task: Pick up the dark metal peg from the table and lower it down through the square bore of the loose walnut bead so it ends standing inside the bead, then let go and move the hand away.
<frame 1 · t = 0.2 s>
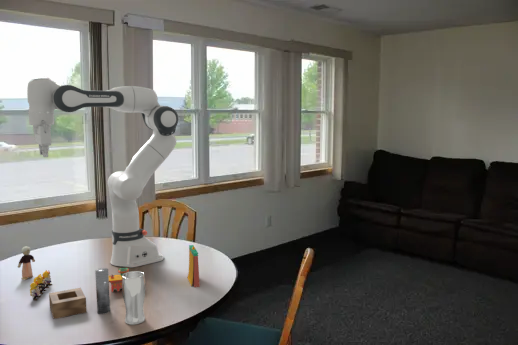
hand: (44, 156, 183), 48 cm above the table, fingers open, 8 cm apart
walnut bead: (68, 309, 155), on the table
metal peg: (103, 311, 154), on the table
toy building block set: (150, 287, 176), on the table
figurine set: (41, 293, 170), on the table
grandmother figurine: (28, 278, 185), on the table
beer glass: (135, 321, 148), on the table
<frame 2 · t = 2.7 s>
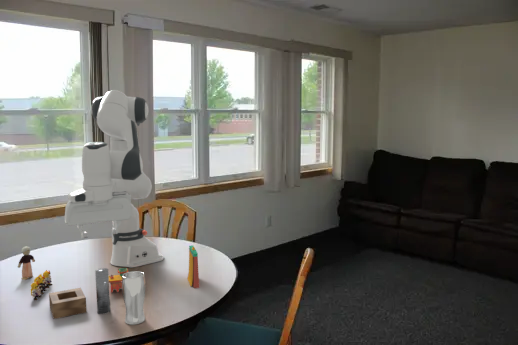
hand: (99, 235, 151), 25 cm above the table, fingers open, 8 cm apart
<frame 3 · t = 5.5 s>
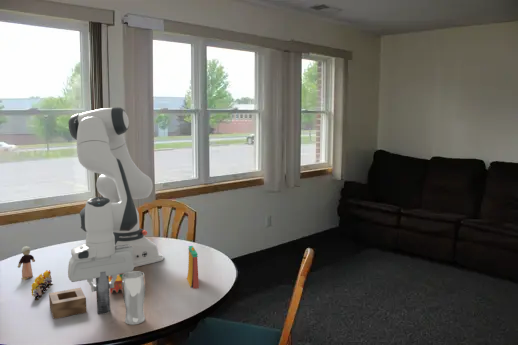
hand: (102, 289, 153), 8 cm above the table, fingers closed on metal peg, 4 cm apart
metal peg: (103, 311, 154), on the table, touching gripper
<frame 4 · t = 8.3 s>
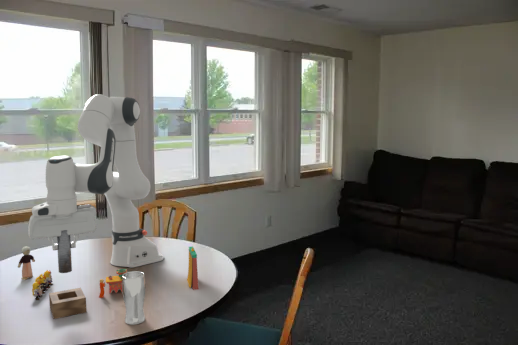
hand: (64, 248, 152), 21 cm above the table, fingers closed on metal peg, 4 cm apart
metal peg: (65, 271, 153), point 13 cm above the table, touching gripper
when the fingers open (9 cm above the table, at t = 11.0 s): metal peg drops 1 cm, resting in walnut bead.
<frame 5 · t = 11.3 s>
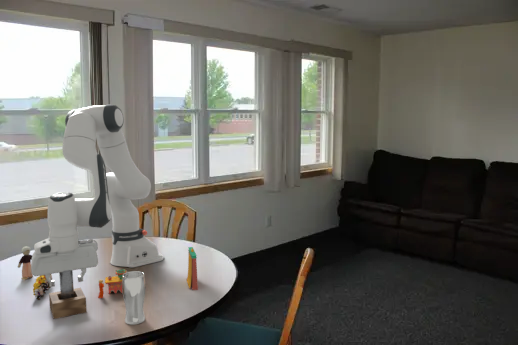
hand: (66, 283, 154), 9 cm above the table, fingers open, 7 cm apart
metal peg: (68, 309, 155), resting in walnut bead
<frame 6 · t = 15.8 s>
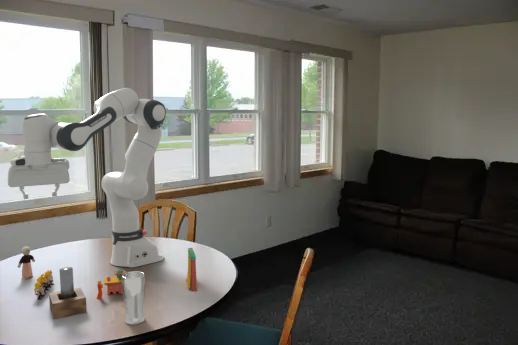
hand: (40, 197, 170), 34 cm above the table, fingers open, 8 cm apart
at the end: metal peg 0.1 cm off-centre on the walnut bead, point 0.0 cm above the walnut bead's base; metal peg tilted 0°; the gripper is holding nothing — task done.
